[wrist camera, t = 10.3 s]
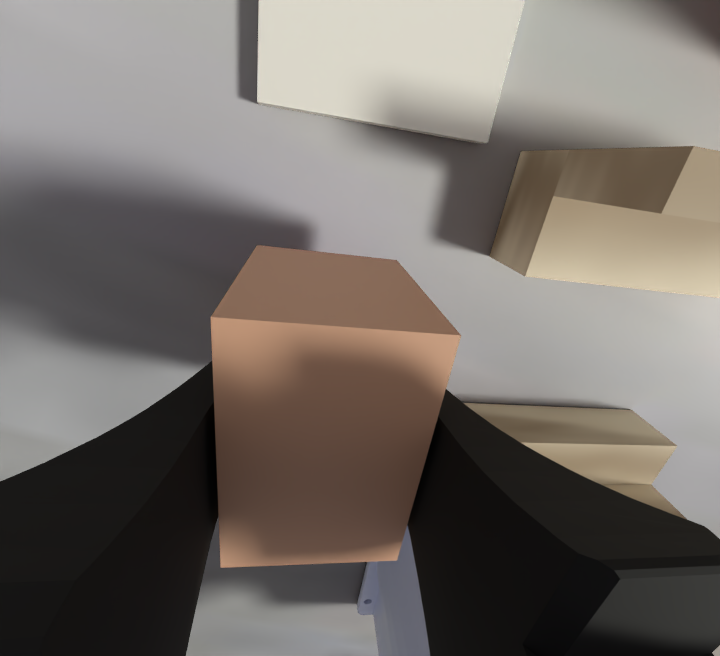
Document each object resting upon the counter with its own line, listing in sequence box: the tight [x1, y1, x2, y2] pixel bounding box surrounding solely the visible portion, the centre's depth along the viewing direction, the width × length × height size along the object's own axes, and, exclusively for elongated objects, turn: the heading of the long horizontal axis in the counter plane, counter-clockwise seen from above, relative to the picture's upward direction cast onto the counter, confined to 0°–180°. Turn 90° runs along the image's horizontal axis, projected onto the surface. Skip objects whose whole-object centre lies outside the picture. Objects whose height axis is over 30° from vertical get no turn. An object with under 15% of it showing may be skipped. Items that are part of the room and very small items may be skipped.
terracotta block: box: [211, 245, 461, 568], centre depth 9 cm, size 6×4×5 cm, turn 172°
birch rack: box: [464, 146, 720, 520], centre depth 13 cm, size 14×10×6 cm
